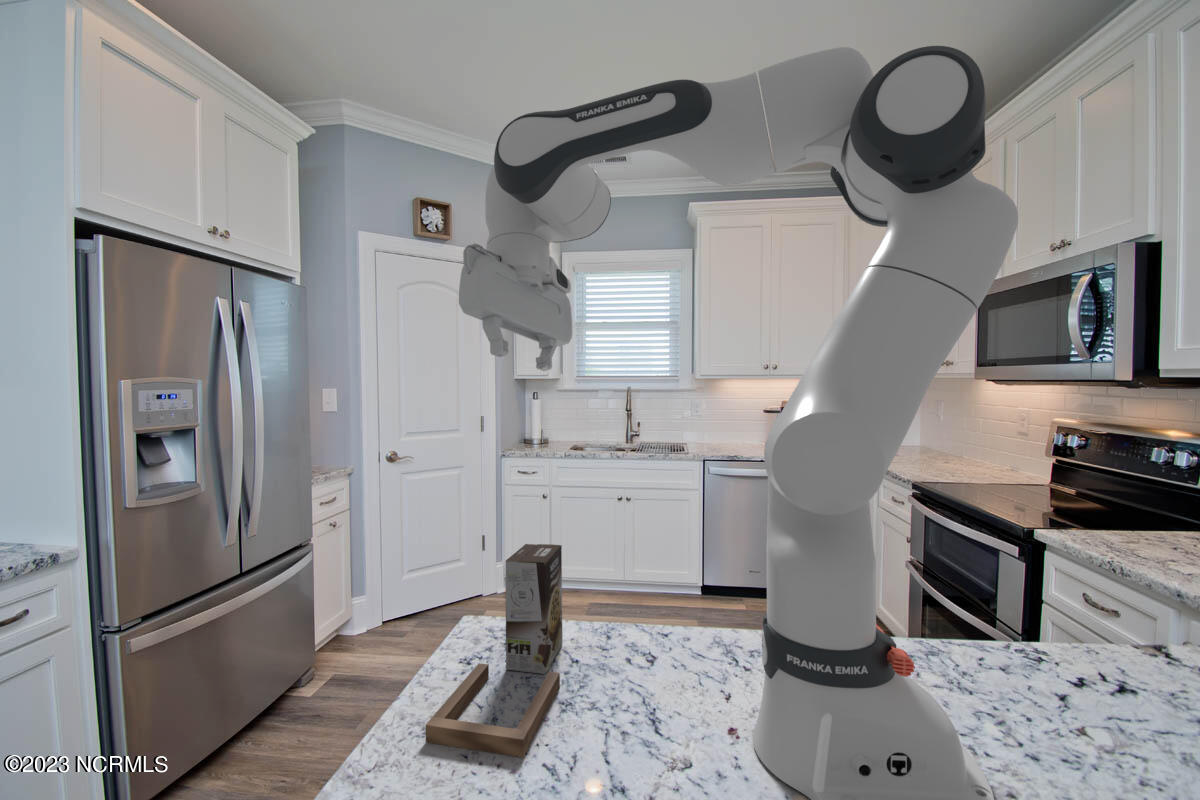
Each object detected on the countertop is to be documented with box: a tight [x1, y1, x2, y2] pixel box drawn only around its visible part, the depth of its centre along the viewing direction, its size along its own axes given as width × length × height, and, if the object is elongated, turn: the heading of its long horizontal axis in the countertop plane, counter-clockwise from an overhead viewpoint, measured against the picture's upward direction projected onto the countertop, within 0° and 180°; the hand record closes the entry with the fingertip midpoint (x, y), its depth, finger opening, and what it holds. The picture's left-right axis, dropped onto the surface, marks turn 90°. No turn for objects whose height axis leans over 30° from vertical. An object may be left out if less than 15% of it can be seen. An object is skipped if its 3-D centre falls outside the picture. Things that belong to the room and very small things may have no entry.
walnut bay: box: [425, 663, 561, 758], centre depth 63 cm, size 12×14×2 cm
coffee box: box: [505, 543, 563, 675], centre depth 76 cm, size 9×6×16 cm
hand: (523, 362), depth 67 cm, fingers open, 8 cm apart
